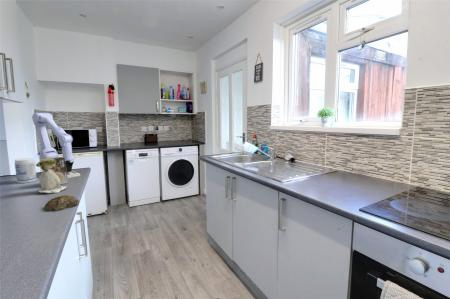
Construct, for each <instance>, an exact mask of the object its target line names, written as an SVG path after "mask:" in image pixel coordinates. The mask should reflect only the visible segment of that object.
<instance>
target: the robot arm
mask: <svg viewBox="0 0 450 299" xmlns="http://www.w3.org/2000/svg"><path fill="white" fill-rule="evenodd" d="M53 117H54V116H53V115H52V113H50V112H34V113H33V114H32V116H31V120H32V121H33V124H34V126H35V129H36V132H37V135H38V138H39V142H40V145H41V148H42V149H41V150H40V151H39V152H38V154H39V161H41V160H42V159H48V158H58V157H59V154H58V152H57V150H56V149H55V148H53V147H52V143H51V142H50V138H49V135H48V131H47V128H46V127H47V125H48V126H49V127H50V129H52V133H53V134H54V135H55V137H57V138H58V142H59V145H60V147H61V152H62V157H63V158H65V164H66V169H67V171H68V172H69V171H73V164H74V163H75V162H74V161H75V160H74V159H76V158H75V157H74V155H73V148H72V142H73V140H74V138H73V136H72V135H71V134H69V133H66V131H65V130H64V129H63V128H62V127H61V126H58V125H57V123H56V122H55V120H54V118H53Z"/></svg>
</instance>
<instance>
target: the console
mask: <svg viewBox="0 0 450 299" xmlns="http://www.w3.org/2000/svg"><path fill="white" fill-rule="evenodd" d="M80 176H81V173H79V172H77V171H74V170H72V171H70V172H67V177H68V179H71V178H74V177H80Z"/></svg>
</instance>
